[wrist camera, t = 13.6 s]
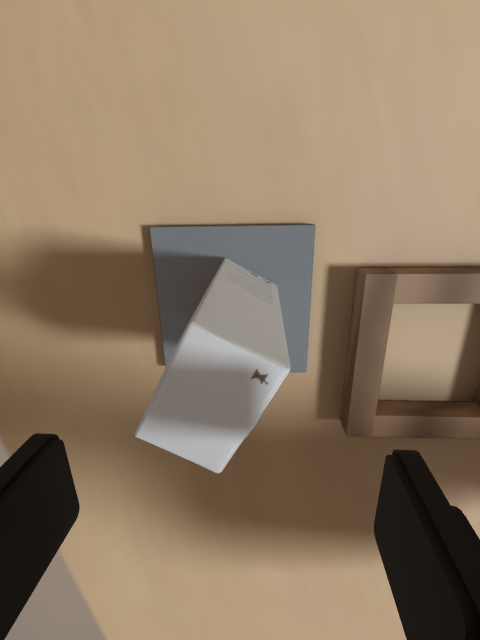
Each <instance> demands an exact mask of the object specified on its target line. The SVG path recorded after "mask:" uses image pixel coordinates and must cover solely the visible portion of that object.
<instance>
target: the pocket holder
mask: <svg viewBox="0 0 480 640" xmlns="http://www.w3.org/2000/svg"><path fill="white" fill-rule="evenodd" d="M393 304H480V267H392V268H357V276H356V285H355V294H354V303H353V312H352V321H351V329H350V338H349V347H348V356H347V365H346V374H345V383H344V392H343V401H342V410H341V419H340V420H341V423H342V426H343V428H344V431H345V434H346V436H364V437H412V438H460V439H480V385H479V388H478V392H477V395H476V399H475V402H453V401H386V400H378V396H379V390H380V384H381V377H382V371H383V365H384V358H385V352H386V346H387V339H388V333H389V327H390V320H391V314H392V308H393Z"/></svg>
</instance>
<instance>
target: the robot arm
mask: <svg viewBox="0 0 480 640" xmlns="http://www.w3.org/2000/svg"><path fill="white" fill-rule="evenodd" d="M78 514H79V502H78V498H77V494H76V490H75V486H74V482H73V478H72V474H71V470H70V466H69V462H68V458H67V454H66V450H65V446H64V443H63V441H62V440H60V439H59V437H58V436H57V435H55V434H38V433H37V434H34V435H32V436H31V437H30V438H29V439H28V440H27V441H26V442H25V443H24V444H23V445H22V446H21V447H20V448H19V449H18V450H17V451H16V452H15V453H14V454H13V455H12V456H11V457H10V458H9V459H8V460H7V461H6V462H5V463H4V464H3V465H2V466H1V467H0V640H4V639H5V637H6V636H7V634H8V632H9V631H10V629H11V627H12V626H13V624H14V622H15V621H16V619H17V617H18V616H19V614H20V612H21V611H22V609H23V607H24V606H25V604H26V602H27V601H28V599H29V597H30V596H31V594H32V592H33V591H34V589H35V587H36V586H37V584H38V582H39V581H40V579H41V577H42V576H43V574H44V572H45V571H46V569H47V567H48V566H49V564H50V562H51V561H52V559H53V557H54V556H55V554H56V552H57V551H58V549H59V547H60V546H61V544H62V542H63V541H64V539H65V537H66V536H67V534H68V532H69V531H70V529H71V527H72V526H73V524H74V522H75V521H76V519H77V517H78ZM374 533H375V539H376V542H377V545H378V549H379V552H380V555H381V558H382V561H383V565H384V568H385V571H386V574H387V577H388V581H389V584H390V587H391V590H392V594H393V597H394V600H395V603H396V606H397V610H398V613H399V616H400V619H401V622H402V626H403V629H404V632H405V635H406V638H407V640H480V539H479V538H478V536H477V534H476V533H475V531H474V530H473V528H472V526H471V525H470V523H469V521H468V520H467V518H466V517H465V515H464V514H463V513H462V511H461V510H460V509H459V508H457V507H455V506H450V504H449V502H448V501H447V499H446V497H445V496H444V494H443V492H442V490H441V489H440V487H439V485H438V484H437V482H436V480H435V479H434V477H433V475H432V473H431V472H430V470H429V468H428V467H427V465H426V463H425V462H424V460H423V458H422V456H421V455H420V453H419V452H418V451H415V450H394V451H393V453H392V455H387V456H386V459H385V465H384V470H383V476H382V482H381V487H380V493H379V499H378V505H377V510H376V516H375V522H374Z"/></svg>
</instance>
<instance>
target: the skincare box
mask: <svg viewBox="0 0 480 640" xmlns="http://www.w3.org/2000/svg"><path fill="white" fill-rule="evenodd" d="M289 372H290V362H289V356H288V349H287V344H286V338H285V332H284V325H283V320H282V313H281V307H280V301H279V294H278V288H277V285H276V284H274V283H272V282H270V281H269V280H267V279H265V278H263V277H261V276H259V275H258V274H256V273H254V272H252V271H250V270H248V269H246V268H244V267H242V266H240V265H238V264H236V263H234V262H233V261H231V260H229V259H227V258H225V259H224V260H223V262H222V264H221V265H220V267H219V269H218V271H217V273H216V275H215V276H214V278H213V280H212V282H211V283H210V285H209V287H208V289H207V290H206V292H205V294H204V296H203V298H202V300H201V301H200V303H199V305H198V307H197V309H196V310H195V312H194V314H193V316H192V318H191V319H190V321H189V323H188V325H187V327H186V329H185V331H184V332H183V334H182V336H181V338H180V340H179V342H178V344H177V346H176V348H175V350H174V351H173V353H172V355H171V358H170V360H169V362H168V364H167V366H166V368H165V370H164V372H163V375H162V377H161V379H160V381H159V383H158V385H157V387H156V390H155V391H154V394H153V396H152V398H151V400H150V402H149V404H148V406H147V409H146V411H145V413H144V415H143V417H142V419H141V421H140V423H139V425H138V427H137V429H136V431H135V437H137V438H139V439H141V440H144V441H146V442H148V443H151V444H153V445H155V446H157V447H160V448H162V449H164V450H167V451H169V452H171V453H174V454H176V455H178V456H180V457H183V458H185V459H187V460H189V461H192V462H194V463H196V464H198V465H200V466H202V467H204V468H207V469H209V470H211V471H213V472H215V473H217V474H218V473H221V472H222V471H223V469H224V468H225V466H226V465H227V463H228V462H229V460H230V459H231V457H232V456H233V454H234V453H235V452H236V450H237V449H238V447H239V446H240V444H241V443H242V441H243V440H244V439H245V438H246V437H247V436H248V435H249V433H250V432H251V431H252V429H253V428H254V427H255V425H256V424H257V422H258V420H259V418H260V416H261V414H262V413H263V411H264V409H265V408H266V407H267V405H268V404H269V402H270V401H271V399H272V397H273V396H274V394H275V393H276V391H277V390H278V388H279V387H280V385H281V384H282V382H283V381H284V379H285V378H286V376H287V375H288V373H289Z"/></svg>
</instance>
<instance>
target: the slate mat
mask: <svg viewBox="0 0 480 640" xmlns="http://www.w3.org/2000/svg"><path fill="white" fill-rule="evenodd" d="M150 233H151V242H152V251H153V259H154V268H155V277H156V286H157V295H158V304H159V313H160V322H161V331H162V340H163V349H164V357H165V366H167V364H168V362H169V360H170V358H171V355H172V353H173V351H174V350H175V348H176V346H177V344H178V342H179V340H180V338H181V336H182V334H183V332H184V331H185V329H186V327H187V325H188V323H189V321H190V319H191V318H192V316H193V314H194V312H195V310H196V309H197V307H198V305H199V303H200V301H201V300H202V298H203V296H204V294H205V292H206V290H207V289H208V287H209V285H210V283H211V282H212V280H213V278H214V276H215V275H216V273H217V271H218V269H219V267H220V265H221V264H222V262H223V260H224V259H225V258H227V259H229V260H231V261H233V262H234V263H236V264H238V265H240V266H242V267H244V268H246V269H248V270H250V271H252V272H254V273H256V274H258V275H259V276H261V277H263V278H265V279H267V280H269V281H270V282H272V283H274V284H276V285H277V288H278V294H279V301H280V307H281V313H282V320H283V325H284V332H285V338H286V344H287V349H288V356H289V362H290V372H306V367H307V351H308V335H309V319H310V303H311V287H312V271H313V255H314V239H315V225H314V224H286V225H212V226H153V227H150Z"/></svg>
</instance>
